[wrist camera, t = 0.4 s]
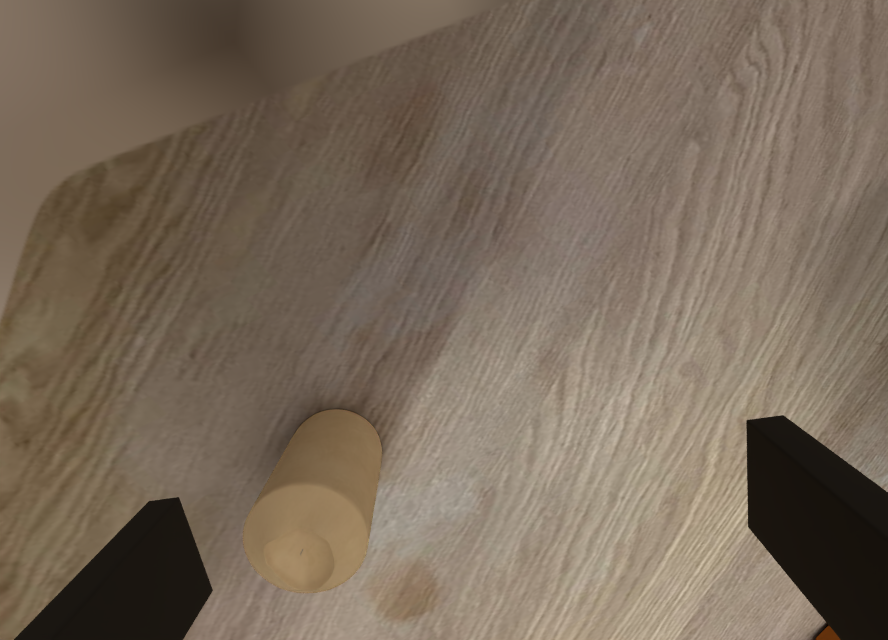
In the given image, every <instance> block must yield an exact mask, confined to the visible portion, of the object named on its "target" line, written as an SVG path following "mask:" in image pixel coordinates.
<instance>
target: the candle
mask: <svg viewBox="0 0 888 640" xmlns="http://www.w3.org/2000/svg"><path fill="white" fill-rule="evenodd" d="M381 460H382V447H381V442H380V438H379V436H378V434H377V432H376V430H375V429H374V427H373V426H372V425H371V424H370V423H369V422H368V421H367V420H366V419H365V418H363V417H362V416H360V415H358V414H356V413H354V412H351V411H347V410H341V409H331V410H325V411H322V412H319V413H316V414H314V415H313V416H311V417H309V418H308V419H307V420H306V421H304V422H303V423H302V424H301V425H300V427H299V428H298V429H297V431H296V432H295V434H294V435H293V437H292V439H291V441H290V442H289V444H288V446H287V448H286V449H285V451H284V453H283V455H282V456H281V458H280V460H279V462H278V463H277V465H276V467H275V469H274V470H273V472H272V474H271V476H270V477H269V479H268V481H267V483H266V484H265V486H264V488H263V490H262V492H261V493H260V495H259V497H258V499H257V500H256V502H255V504H254V506H253V507H252V509H251V511H250V513H249V515H248V517H247V519H246V522H245V524H244V529H243V545H244V549H245V553H246V555H247V558H248V560H249V562H250V563H251V565H252V566H253V568H254V569H255V570H256V571H257V572H258V573H259V574H260V575H261V576H262V577H263V578H264V579H265V580H267V581H268V582H270V583H271V584H273V585H275V586H277V587H279V588H281V589H284V590H287V591H291V592H296V593H316V592H322V591H326V590H330V589H332V588H335V587H337V586H339V585H341V584H342V583H344V582H345V581H347V580H348V579H350V578H351V577H352V576H353V575H354V574H355V573H356V571H357V570H358V569H359V568H360V566H361V564H362V563H363V560H364V558H365V556H366V552H367V548H368V542H369V536H370V530H371V524H372V517H373V511H374V505H375V499H376V493H377V487H378V480H379V474H380V468H381Z"/></svg>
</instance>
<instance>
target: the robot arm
mask: <svg viewBox="0 0 888 640" xmlns="http://www.w3.org/2000/svg"><path fill="white" fill-rule="evenodd" d="M747 481H748V527H749V528H750V530H751V531H752V532H753V533H754V535H755V536H756V537H757V538H758V539H759V541H760V542H761V543H762V544H763V545H764V547H765V548H766V549H767V550H768V552H769V553H770V554H771V555H772V556H773V558H774V559H775V560H776V561H777V563H778V564H779V565H780V566H781V567H782V569H783V570H784V571H785V572H786V574H787V575H788V576H789V577H790V578H791V580H792V581H793V582H794V583H795V585H796V586H797V587H798V588H799V589H800V591H801V592H802V593H803V594H804V595H805V597H806V598H807V599H808V600H809V602H810V603H811V604H812V605H813V606H814V608H815V609H816V610H817V611H818V613H819V614H820V615H821V616H822V617H823V619H824V620H825V621H826V622H827V624H828V625H829V626H830V627H831V628H832V630H833V631H834V632H835V633H836V635H837V636H838V637H839V638H840V639H841V640H888V492H886V491H885V490H884V489H882V488H881V487H880V486H878V485H877V484H876V483H874V482H873V481H872V480H870V479H869V478H867V477H866V476H865V475H863V474H862V473H861V472H859V471H858V470H857V469H855V468H854V467H853V466H851V465H850V464H848V463H847V462H846V461H844V460H843V459H842V458H840V457H839V456H838V455H836V454H835V453H834V452H832V451H831V450H830V449H828V448H827V447H825V446H824V445H823V444H821V443H820V442H819V441H817V440H816V439H815V438H813V437H812V436H811V435H809V434H808V433H806V432H805V431H804V430H802V429H801V428H800V427H798V426H797V425H796V424H794V423H793V422H792V421H790V420H789V419H787V418H786V417H785V416H783V415H782V416H774V417H767V418H759V419H752V420H747ZM212 591H213V590H212V587H211V584H210V581H209V579H208V576H207V573H206V570H205V568H204V565H203V562H202V559H201V557H200V554H199V551H198V548H197V546H196V543H195V540H194V537H193V535H192V532H191V529H190V526H189V524H188V521H187V518H186V515H185V513H184V510H183V507H182V504H181V502H180V499H179V497H177V498H170V499H162V500H155V501H149V502H148V503H147V504H146V505H145V506H144V507H143V508H142V509H141V510H140V511H139V512H138V513H137V514H136V515H135V516H134V517H133V518H132V519H131V520H130V521H129V522H128V523H127V524H126V525H125V526H124V527H123V528H122V529H121V530H120V531H119V532H118V533H117V535H116V536H115V537H114V538H113V539H112V540H111V541H110V542H109V543H108V544H107V545H106V546H105V547H104V548H103V549H102V550H101V551H100V552H99V553H98V554H97V555H96V556H95V557H94V558H93V559H92V560H91V561H90V562H89V563H88V564H87V565H86V566H85V567H84V568H83V569H82V570H81V571H80V572H79V573H78V574H77V576H76V577H75V578H74V579H73V580H72V581H71V582H70V583H69V584H68V585H67V586H66V587H65V588H64V589H63V590H62V591H61V592H60V593H59V594H58V595H57V596H56V597H55V598H54V599H53V600H52V601H51V602H50V603H49V604H48V605H47V606H46V607H45V608H44V609H43V610H42V611H41V612H40V613H39V614H38V615H37V617H36V618H35V619H34V620H33V621H32V622H31V623H30V624H29V625H28V626H27V627H26V628H25V629H24V630H23V631H22V632H21V633H20V634H19V635H18V636H17V637H16V638H15V639H14V640H183V639H184V637H185V635H186V634H187V632H188V630H189V629H190V627H191V625H192V624H193V622H194V620H195V619H196V617H197V616H198V614H199V612H200V611H201V609H202V607H203V606H204V604H205V602H206V601H207V599H208V597H209V596H210V594H211V593H212Z"/></svg>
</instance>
